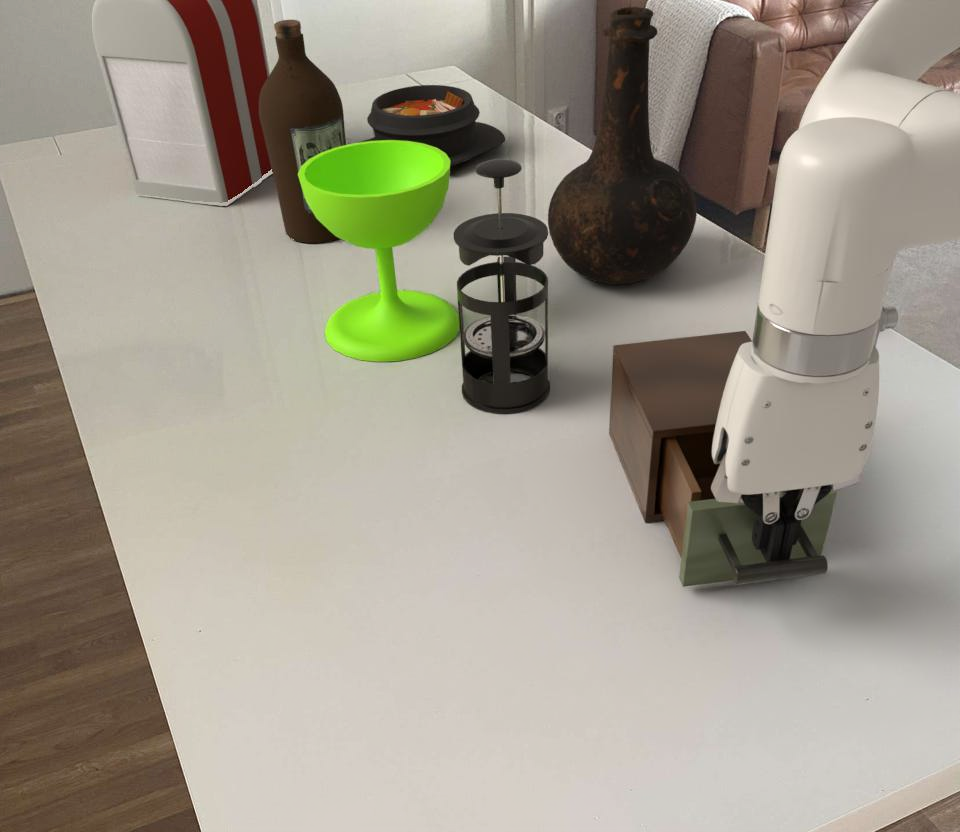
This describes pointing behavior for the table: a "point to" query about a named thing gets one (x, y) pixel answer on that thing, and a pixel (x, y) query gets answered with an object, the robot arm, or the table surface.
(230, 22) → the tissue box
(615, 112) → the glass bottle
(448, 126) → the casserole
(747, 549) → the drawer
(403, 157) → the wineglass
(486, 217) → the french press
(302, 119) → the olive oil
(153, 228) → the table surface
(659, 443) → the cabinet
